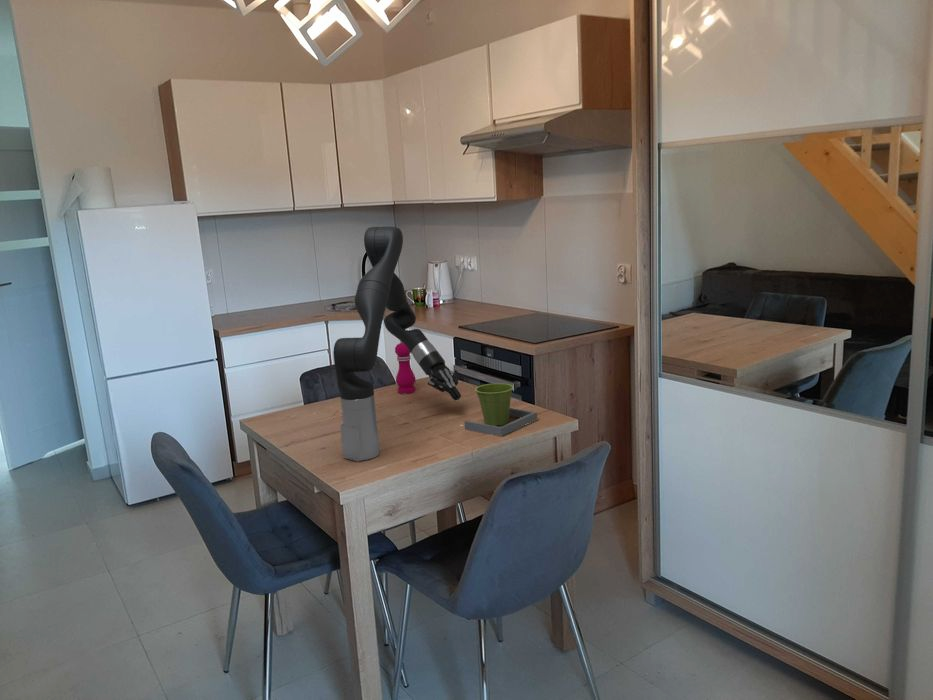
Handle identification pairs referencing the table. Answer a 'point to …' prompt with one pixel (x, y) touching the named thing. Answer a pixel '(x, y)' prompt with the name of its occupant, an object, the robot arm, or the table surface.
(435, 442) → the table surface
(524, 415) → the bay
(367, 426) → the robot arm
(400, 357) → the pepper mill
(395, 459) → the table surface
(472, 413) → the table surface
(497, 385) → the plant pot
